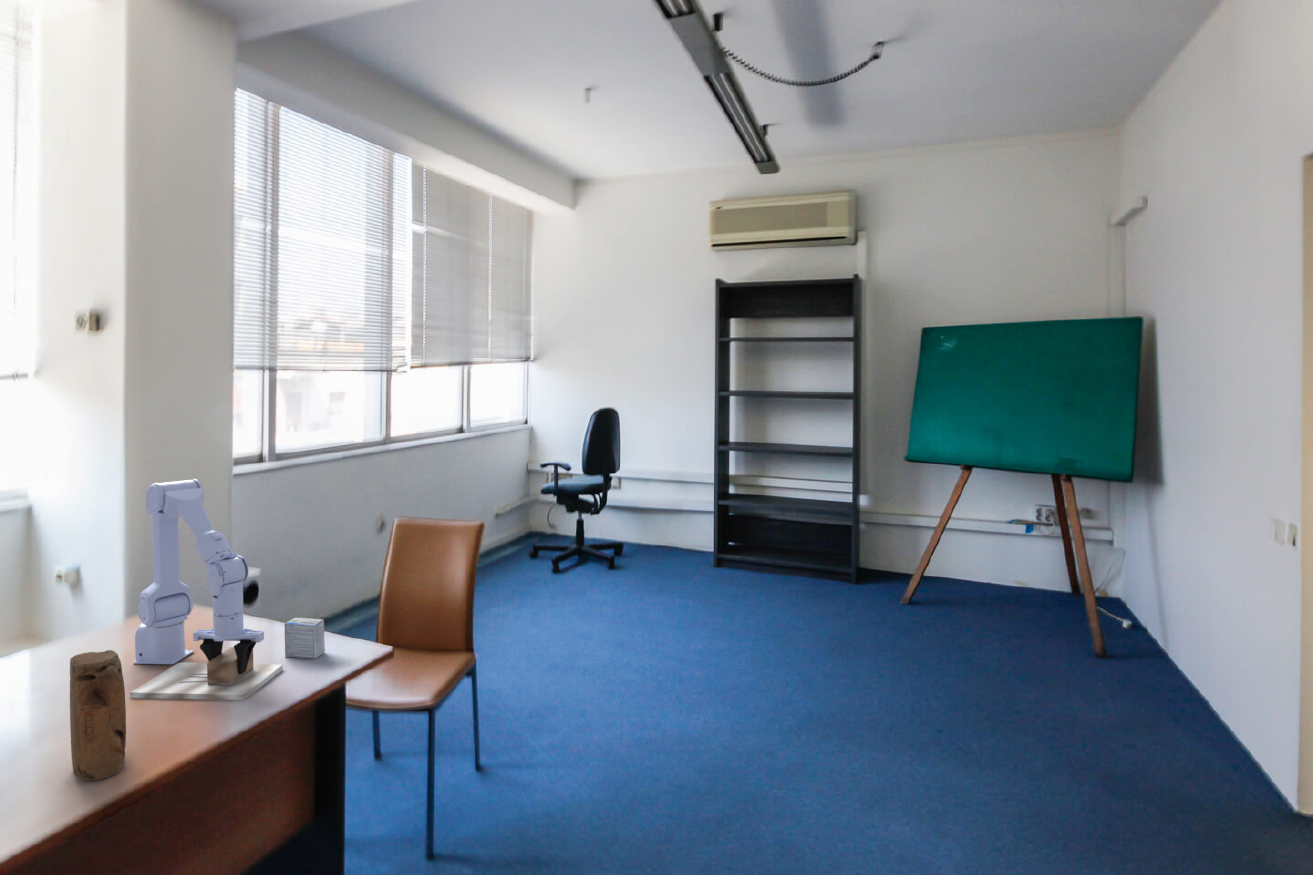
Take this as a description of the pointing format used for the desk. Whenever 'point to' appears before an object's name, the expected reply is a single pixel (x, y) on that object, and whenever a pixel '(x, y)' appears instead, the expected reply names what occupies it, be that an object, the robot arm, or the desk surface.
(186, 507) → the robot arm
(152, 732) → the desk surface
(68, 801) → the desk surface
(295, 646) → the medicine box
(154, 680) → the board
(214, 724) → the desk surface
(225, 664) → the block
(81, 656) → the block
